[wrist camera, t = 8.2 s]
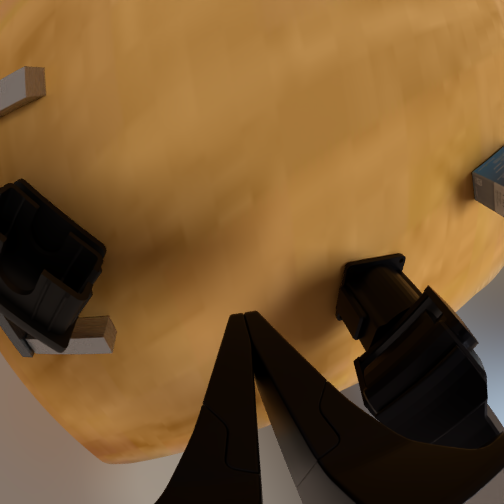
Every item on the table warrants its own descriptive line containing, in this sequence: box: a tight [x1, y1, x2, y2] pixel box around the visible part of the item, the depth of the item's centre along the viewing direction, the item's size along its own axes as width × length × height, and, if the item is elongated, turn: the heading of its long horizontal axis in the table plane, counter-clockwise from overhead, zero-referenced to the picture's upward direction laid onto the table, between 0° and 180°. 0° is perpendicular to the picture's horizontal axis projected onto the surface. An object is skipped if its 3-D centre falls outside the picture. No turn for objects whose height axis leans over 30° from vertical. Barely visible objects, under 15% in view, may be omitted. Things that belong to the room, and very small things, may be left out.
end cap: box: [0, 179, 106, 353], centre depth 14 cm, size 10×7×7 cm
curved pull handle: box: [0, 66, 117, 357], centre depth 14 cm, size 11×22×3 cm, turn 2°
